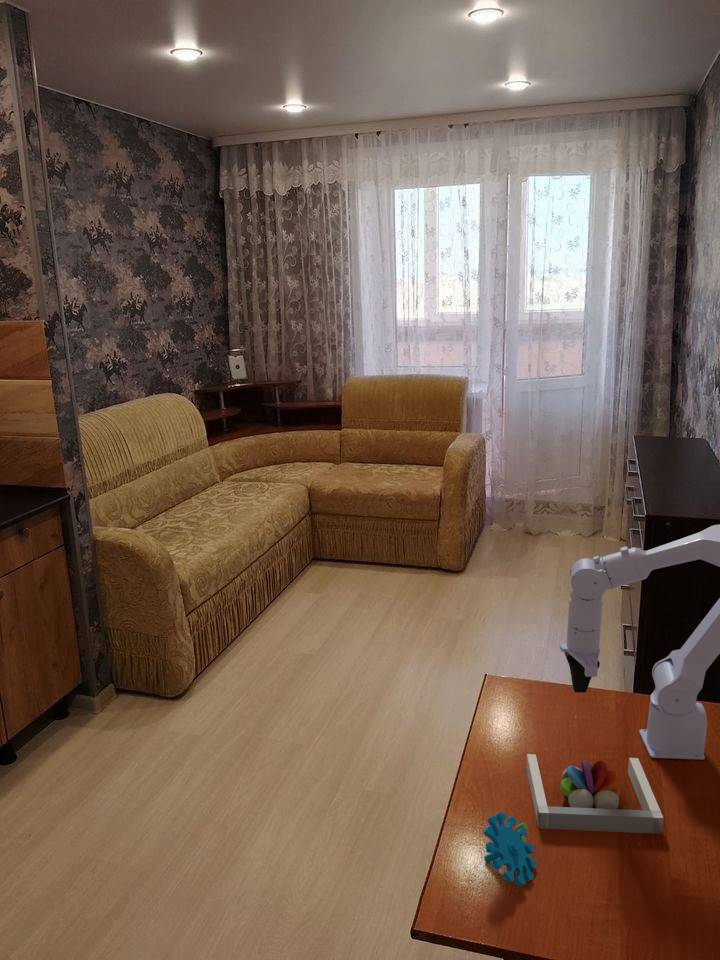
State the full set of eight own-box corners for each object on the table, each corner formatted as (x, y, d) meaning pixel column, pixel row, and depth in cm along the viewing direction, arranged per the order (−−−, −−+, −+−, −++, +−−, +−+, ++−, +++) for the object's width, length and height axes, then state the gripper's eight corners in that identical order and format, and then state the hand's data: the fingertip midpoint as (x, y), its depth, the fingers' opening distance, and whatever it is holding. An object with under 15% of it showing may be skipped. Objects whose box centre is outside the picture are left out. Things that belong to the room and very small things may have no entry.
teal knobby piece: (521, 897, 104) (480, 830, 106) (491, 909, 107) (452, 844, 110) (551, 856, 113) (512, 795, 115) (522, 869, 116) (485, 809, 118)
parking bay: (636, 772, 131) (638, 758, 130) (661, 833, 117) (663, 817, 116) (526, 768, 132) (527, 754, 131) (538, 828, 118) (539, 812, 118)
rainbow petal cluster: (625, 819, 120) (629, 781, 118) (564, 816, 121) (566, 778, 119) (612, 783, 128) (616, 747, 126) (555, 781, 129) (557, 745, 127)
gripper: (554, 606, 142) (550, 669, 146) (570, 644, 128) (565, 712, 132) (591, 606, 142) (587, 670, 146) (612, 644, 128) (606, 713, 132)
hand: (579, 690), depth 139 cm, fingers closed
